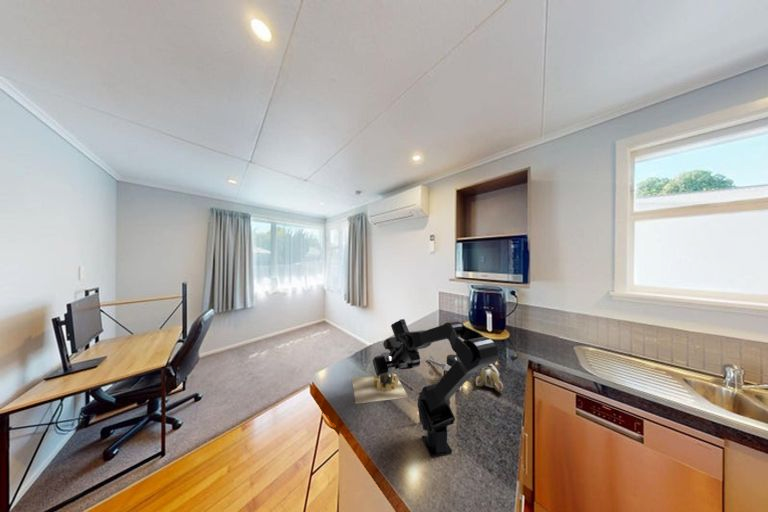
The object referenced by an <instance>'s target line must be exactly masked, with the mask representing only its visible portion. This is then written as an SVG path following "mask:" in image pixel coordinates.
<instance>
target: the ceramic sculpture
mask: <svg viewBox="0 0 768 512" xmlns="http://www.w3.org/2000/svg"><path fill="white" fill-rule="evenodd" d="M475 386H476V387H484V386H485V387H488V388H492V389H493V388H494V389H495V391H497V392H498V393H501V394H502V393H503V391H504V383H503V382H502V381H501V380H500V372H499V371H498V369H497V367H496V366H495V365H494V364H493V363H492V364H490V365H488V366H486V367H484V368H482V369H480V375H476V377H475Z"/></svg>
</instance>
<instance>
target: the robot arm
mask: <svg viewBox="0 0 768 512" xmlns="http://www.w3.org/2000/svg"><path fill="white" fill-rule="evenodd" d="M390 327H391V330H392V334H393V337H389V338H386V339H385V340H383V343H382V344H383V347H384V349H385V350H388V351H389V352H388V353H389V355H390V357H391V361H387V362H386V360H385V357H384V356H383V355H382V356H381V355H377V356H374V358H373V359H372V364H373V367H374V368H373V369H374V372H375V375H377V376H382V375H386V374H387V373H388V369H389V368H392V369H393V368H394V369H395V370H411V369H414V368H418V367H419V366H421V356H420V353H419V350H421V349H427V348H428V347H430V346H431V345H432V343H435V342H440V341H444V340H448V341H449V344H450V346H451V349H452V351H453V352H455V355H456V359H457V360H456V362H455V363H454V364H453V365H452V367H451V368H450V369H449V370H448V371H447V373H446V374H445V375H444V376H443V375H442V377H441V379H440V380H439V381H438V382H435V383H431V384H429V385H425V386H424V387H422V389H421V392H418V398H417V410H418V417H419V422H420V424H421V425H422V429H423V430H425V431H426V434H425V435H422V436H421V440H422V442H423V444H424V446H425V449H426V450H427V452H428V454H429V456H430V457H431V458H435V457H440V456H445V455H449V454H452V453H453V450H452V447H451V446H450V445H449V443H448V426H450V425H453V424H454V423H455V421H456V417H455V416H454V413H453V411H452V408H451V400H450V399H451V398H452V397H453V396H454V395H455V393H457V391H459V390H458V389H459V388H460V387H461V386H463V385H464V384H465V383H466V382H467V381H468V380H469V379H470V377H472V375H474V374H475V373H476V372H477V371H481V369H482V368H484V367H486V366H488V365H490V364H493V363H495V362H497V361H498V359H499V357H500V354H499V349H498V346H497V345H496V344H495V342H494V341H493V339H491V338H489V337H488V336H485V335H483V334H482V333H480V332H479V331H477V330H474V329H472V328H470V327H467V326H466V325H464V323H462V322H459V321H449V322H445V323H444V324H442V325H438V326H436V327H433V328H429V329H427V330H425V329H424V330H415V331H414V330H413V331H409V328H408V326H407V323H406V320H405V318H403V319H399V320H397V321H395V322H394V323H392V324H391V325H390ZM461 388H462V387H461Z"/></svg>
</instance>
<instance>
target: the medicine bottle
mask: <svg viewBox="0 0 768 512" xmlns="http://www.w3.org/2000/svg"><path fill="white" fill-rule="evenodd" d="M456 360H457V359H456V354H448V355H447V356H446V363H445V364H446V366H445V368H444V369H443V373H442V374H443V375H442V377H443V376H444V375H445V374H446V373H447V371H448V370H449V369H450V368H451V367H452V365H453V364H454V363H455V362H456ZM462 386H463V385H462ZM462 386H461V387H460V388H459V389H458V390H457V391H462Z"/></svg>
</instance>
